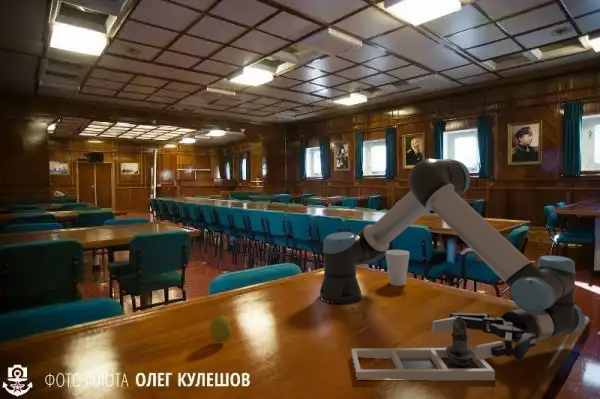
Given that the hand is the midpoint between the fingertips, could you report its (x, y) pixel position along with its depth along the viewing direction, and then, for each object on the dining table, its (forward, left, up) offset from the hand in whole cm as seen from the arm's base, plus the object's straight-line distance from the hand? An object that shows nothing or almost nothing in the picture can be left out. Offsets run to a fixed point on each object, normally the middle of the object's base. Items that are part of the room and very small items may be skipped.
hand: (453, 338), depth 79 cm
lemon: (-55, -19, -7) cm, 59 cm away
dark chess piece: (+1, +2, -7) cm, 8 cm away
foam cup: (-33, +57, -7) cm, 66 cm away
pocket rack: (-7, -3, -7) cm, 10 cm away
